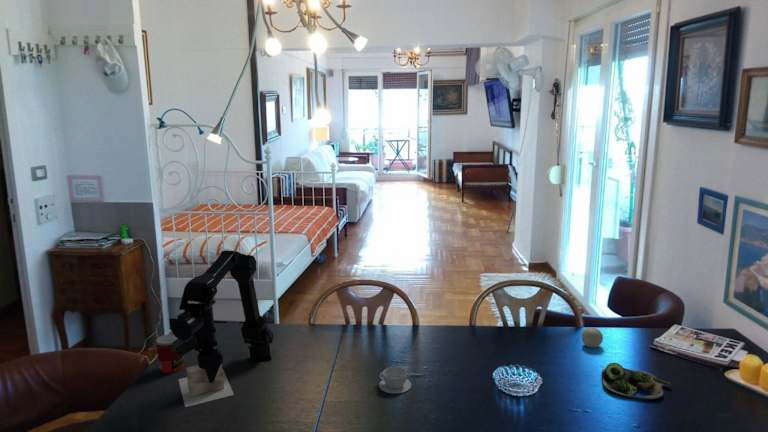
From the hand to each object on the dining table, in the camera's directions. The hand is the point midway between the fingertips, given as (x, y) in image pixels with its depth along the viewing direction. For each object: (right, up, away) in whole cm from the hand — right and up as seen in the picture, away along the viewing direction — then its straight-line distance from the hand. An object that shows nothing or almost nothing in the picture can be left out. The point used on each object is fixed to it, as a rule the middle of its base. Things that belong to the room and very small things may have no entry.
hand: (208, 375), depth 156 cm
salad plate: (+124, -7, +11) cm, 125 cm away
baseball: (+123, 0, +36) cm, 128 cm away
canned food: (-21, -6, +28) cm, 35 cm away
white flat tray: (-6, -8, +15) cm, 18 cm away
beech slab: (-5, -8, +13) cm, 16 cm away
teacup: (+53, -8, +14) cm, 55 cm away
